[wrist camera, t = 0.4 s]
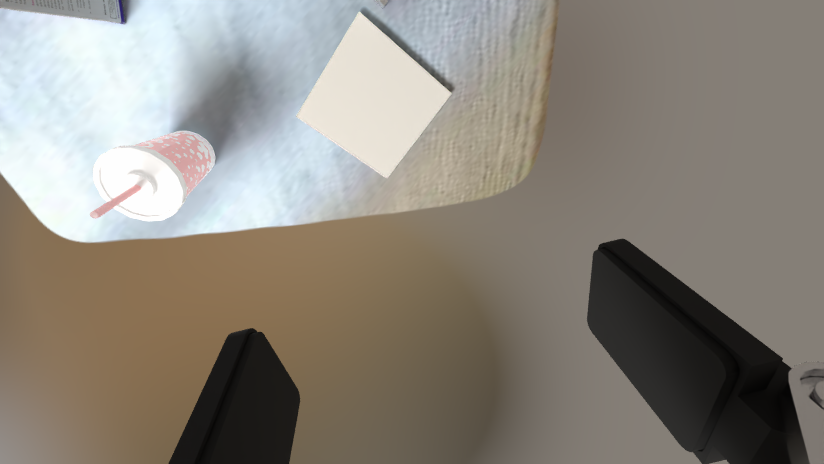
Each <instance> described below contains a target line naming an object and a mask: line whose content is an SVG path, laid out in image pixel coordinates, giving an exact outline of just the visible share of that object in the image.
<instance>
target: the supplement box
mask: <svg viewBox="0 0 824 464" xmlns="http://www.w3.org/2000/svg"><path fill="white" fill-rule="evenodd" d="M0 8H1V9H9V10H16V11H25V12H33V13H41V14H50V15H58V16H66V17H75V18H83V19H91V20H99V21H107V22H113V23H120V24H125V16H124V10H123V4H122V0H0Z"/></svg>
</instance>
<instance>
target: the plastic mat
mask: <svg viewBox="0 0 824 464" xmlns="http://www.w3.org/2000/svg"><path fill="white" fill-rule="evenodd" d="M451 94H452V93H451V92H450V91H448V90H447V89H446V88H445V87H444V86H443V85H442V84H440V83H439V82H438V81H437V80H436V79H435V78H434V77H433V76H431V75H430V74H429V73H428V72H427V71H426V70H425V69H424V68H422V67H421V66H420V65H419V64H418V63H417V62H416V61H415V60H413V59H412V58H411V57H410V56H409V55H408V54H407V53H405V52H404V51H403V50H402V49H401V48H400V47H399V46H398V45H396V44H395V43H394V42H393V41H392V40H391V39H390V38H389V37H387V36H386V35H385V34H384V33H383V32H382V31H381V30H380V29H378V28H377V27H376V26H375V25H374V24H373V23H372V22H371V21H369V20H368V19H367V18H366V17H365V16H364V15H363V14H361V13H360V12H359V13H358V14H357V16H356V18H355V19H354V21H353V23H352V24H351V26H350V28H349V29H348V31H347V33H346V34H345V36H344V38H343V39H342V41H341V43H340V44H339V46H338V48H337V49H336V51H335V52H334V54H333V56H332V57H331V59H330V61H329V62H328V64H327V66H326V67H325V69H324V71H323V72H322V74H321V76H320V77H319V79H318V81H317V82H316V84H315V86H314V87H313V89H312V91H311V92H310V94H309V96H308V97H307V99H306V101H305V102H304V104H303V106H302V107H301V109H300V111H299V112H298V114H297V116H296V117H297V118H299V119H300V120H302V121H303V122H305V123H306V124H308V125H309V126H311V127H312V128H313V129H315V130H316V131H318V132H319V133H321V134H322V135H324V136H325V137H327V138H328V139H330V140H331V141H333V142H334V143H335V144H337V145H338V146H340V147H341V148H343V149H344V150H346V151H347V152H349V153H350V154H352V155H353V156H355V157H356V158H357V159H359V160H360V161H362V162H363V163H365V164H366V165H368V166H369V167H371V168H372V169H374V170H375V171H377V172H378V173H379V174H381V175H382V176H384V177H385V178H388V177H389V175H390V174H391V173H392V171H393V170H394V169H395V167H396V166H397V165H398V164H399V162H400V161H401V160H402V158H403V157H404V156H405V154H406V153H407V152H408V150H409V149H410V148H411V146H412V145H413V144H414V143H415V141H416V140H417V139H418V137H419V136H420V135H421V133H422V132H423V131H424V129H425V128H426V127H427V125H428V124H429V123H430V122H431V120H432V119H433V118H434V116H435V115H436V114H437V112H438V111H439V110H440V108H441V107H442V106H443V104H444V103H445V102H446V101H447V99H448V98H449V97H450V95H451Z"/></svg>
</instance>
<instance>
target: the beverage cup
mask: <svg viewBox="0 0 824 464" xmlns="http://www.w3.org/2000/svg"><path fill="white" fill-rule="evenodd" d="M215 158H216V156H215V153H214V150H213V147H212V146H211V145H210V144H209V142H208V141H207V140H206V139H205V138H203V137H202V136H200V135H199V134H197V133H194V132H191V131H176V132H173V133H170V134H167V135H164V136H161V137H158V138H155V139H152V140H149V141H146V142H143V143H140V144H137V145H132V146H119V147H117V148H113V149H111V150H110V151H108V152H106V153H104V154H102V155H100V156H99V158H98V160H97V161H96V163H95V165H94V167H93V178H94V183H95V185H96V187H97V189H98V191H99V193H100V195H101V197H102V198H104V199H105V200H106V201H107V203H105V204H104V205H102V206H101V207H99V208H97V209H96V210H94V211H93V212H91V213H90V216H91V217H92V218H95V219H96V218H98V217H100V216H101V215H103V214H105V213H106V212H108V211H109V210H111V209H112V208H114V209H116V210H118V211H119V212H121V213H123V214H125V215H127V216H129V217H131V218H135V219H139V220H144V221H158V220H164V219H166V218H168V217H170V216H172V215H174V214H175V213H176V212H177V211H178V210H179V209H180V208H181V206H182V205H183V203H184V202H185V201H186V197H187V196H188V195H189V193H190V192H191V191H192V190H193V189H194V188H195V187H196V186H197V185H198V184H199V183H200V181H201V180H202V179H203V178H204V177H205V176H206V175H207V174H208V173H209V172H210V170H211V169H212V168H213V166H214V165H215Z"/></svg>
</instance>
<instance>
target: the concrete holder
mask: <svg viewBox="0 0 824 464" xmlns="http://www.w3.org/2000/svg"><path fill="white" fill-rule="evenodd" d="M374 1H375V2H376V3H377V4H378V5H379V6H380V7H381V8H384V6H385V5H386V3H387V2H388V0H374Z"/></svg>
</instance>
